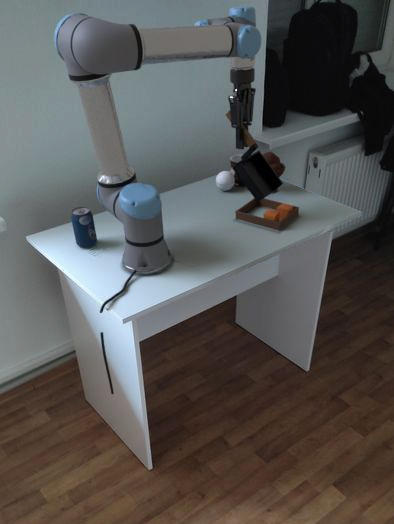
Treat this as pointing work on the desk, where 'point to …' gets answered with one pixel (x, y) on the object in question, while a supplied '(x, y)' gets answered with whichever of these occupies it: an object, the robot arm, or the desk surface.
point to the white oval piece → (225, 180)
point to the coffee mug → (234, 161)
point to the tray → (264, 222)
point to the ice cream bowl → (274, 163)
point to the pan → (256, 170)
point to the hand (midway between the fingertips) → (241, 147)
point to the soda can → (83, 227)
